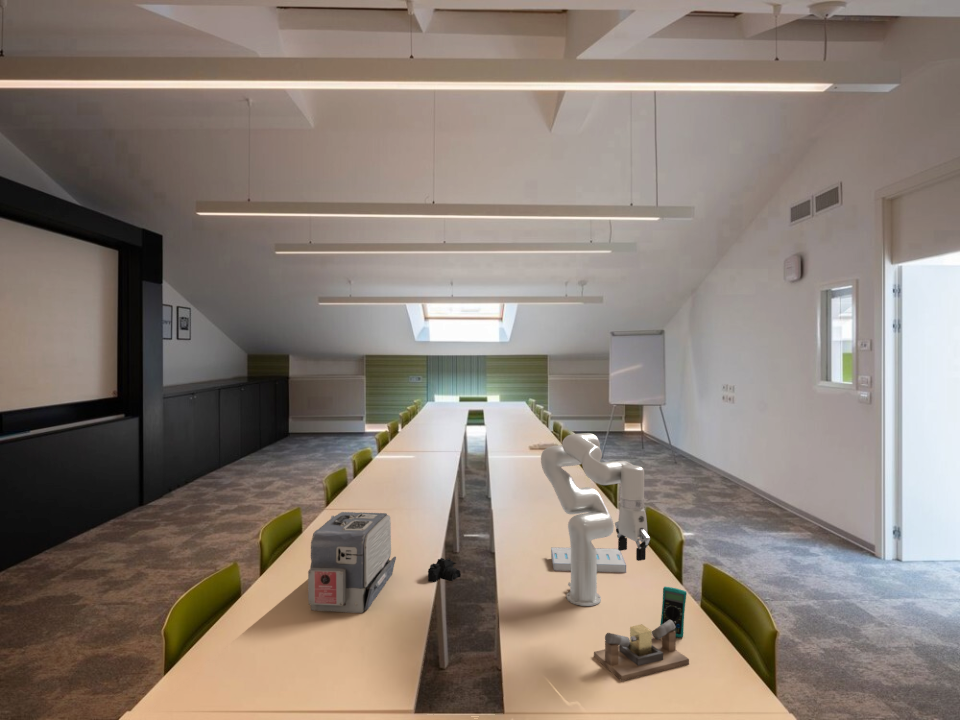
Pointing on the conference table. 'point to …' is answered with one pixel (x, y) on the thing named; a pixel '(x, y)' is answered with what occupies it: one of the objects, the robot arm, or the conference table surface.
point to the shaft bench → (633, 666)
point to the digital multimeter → (674, 608)
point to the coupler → (640, 640)
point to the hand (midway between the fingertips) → (631, 554)
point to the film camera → (443, 571)
